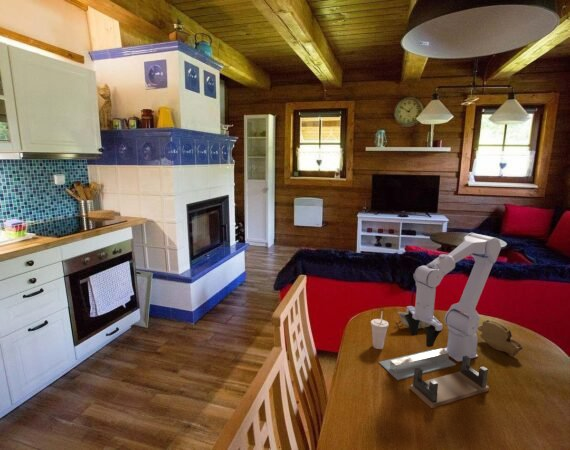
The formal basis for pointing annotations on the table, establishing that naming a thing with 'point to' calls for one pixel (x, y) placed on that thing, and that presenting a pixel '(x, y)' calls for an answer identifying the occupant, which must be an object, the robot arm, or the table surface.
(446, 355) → the rail
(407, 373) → the mat
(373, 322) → the smoothie
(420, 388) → the rack
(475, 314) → the robot arm
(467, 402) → the table surface
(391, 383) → the table surface
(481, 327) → the wooden carving
